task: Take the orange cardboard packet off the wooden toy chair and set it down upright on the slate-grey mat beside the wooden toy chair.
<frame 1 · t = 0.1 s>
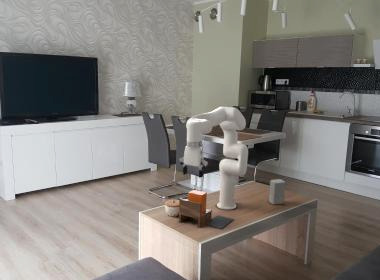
hand: (192, 175, 194), 31 cm above the table, tool pointing down, fingers open, 9 cm apart
packet: (196, 210, 213), point 6 cm above the table, touching wooden toy chair
wooden toy chair: (195, 220, 213), on the table
cosmetic box: (276, 203, 246), on the table
trinket box: (173, 214, 221), on the table
mat: (219, 222, 211), on the table
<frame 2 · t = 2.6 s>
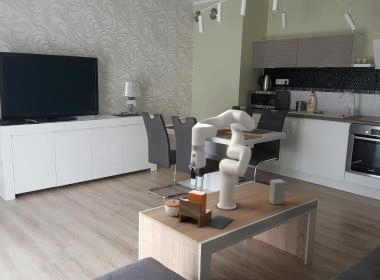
hand: (197, 176, 208), 27 cm above the table, tool pointing down, fingers open, 9 cm apart
nothing on the table moved.
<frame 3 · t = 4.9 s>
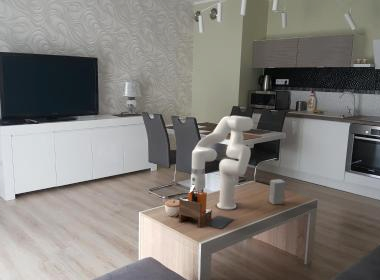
hand: (197, 200, 212), 12 cm above the table, tool pointing down, fingers closed on packet, 6 cm apart
packet: (196, 210, 213), point 6 cm above the table, touching gripper, wooden toy chair
everything else where it was.
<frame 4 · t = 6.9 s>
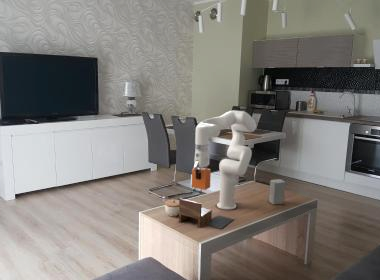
hand: (201, 177, 209), 26 cm above the table, tool pointing down, fingers closed on packet, 6 cm apart
packet: (200, 187, 210), point 20 cm above the table, touching gripper
everything else where it was.
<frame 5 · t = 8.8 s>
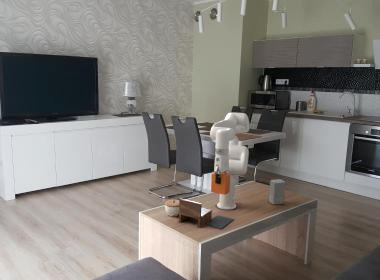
hand: (220, 181, 207), 25 cm above the table, tool pointing down, fingers closed on packet, 6 cm apart
packet: (220, 192, 208), point 19 cm above the table, touching gripper
everything else where it was.
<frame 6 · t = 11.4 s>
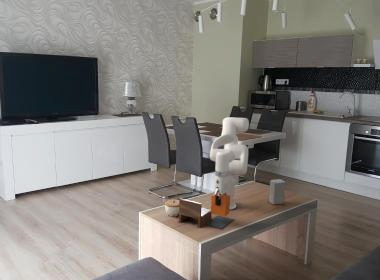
hand: (220, 203, 209), 12 cm above the table, tool pointing down, fingers closed on packet, 6 cm apart
packet: (220, 213, 210), point 6 cm above the table, touching gripper
everything else where it was.
when the fingers open (6 cm above the table, at t = 13.2 s): packet stays where it is, resting on mat.
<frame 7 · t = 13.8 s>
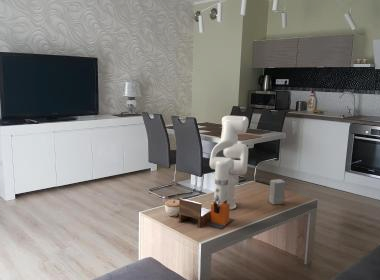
hand: (220, 210, 210), 7 cm above the table, tool pointing down, fingers open, 9 cm apart
packet: (219, 221, 211), resting on mat
everything else where it was.
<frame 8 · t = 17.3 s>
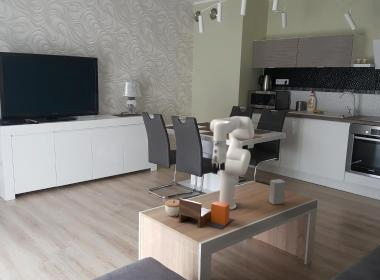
hand: (218, 171, 214), 28 cm above the table, tool pointing down, fingers open, 9 cm apart
nothing on the table moved.
at the end: packet inside the target area on the mat (0.2 cm from its centre), point 0.4 cm above the mat's base; packet tilted 0°; the gripper is holding nothing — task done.
